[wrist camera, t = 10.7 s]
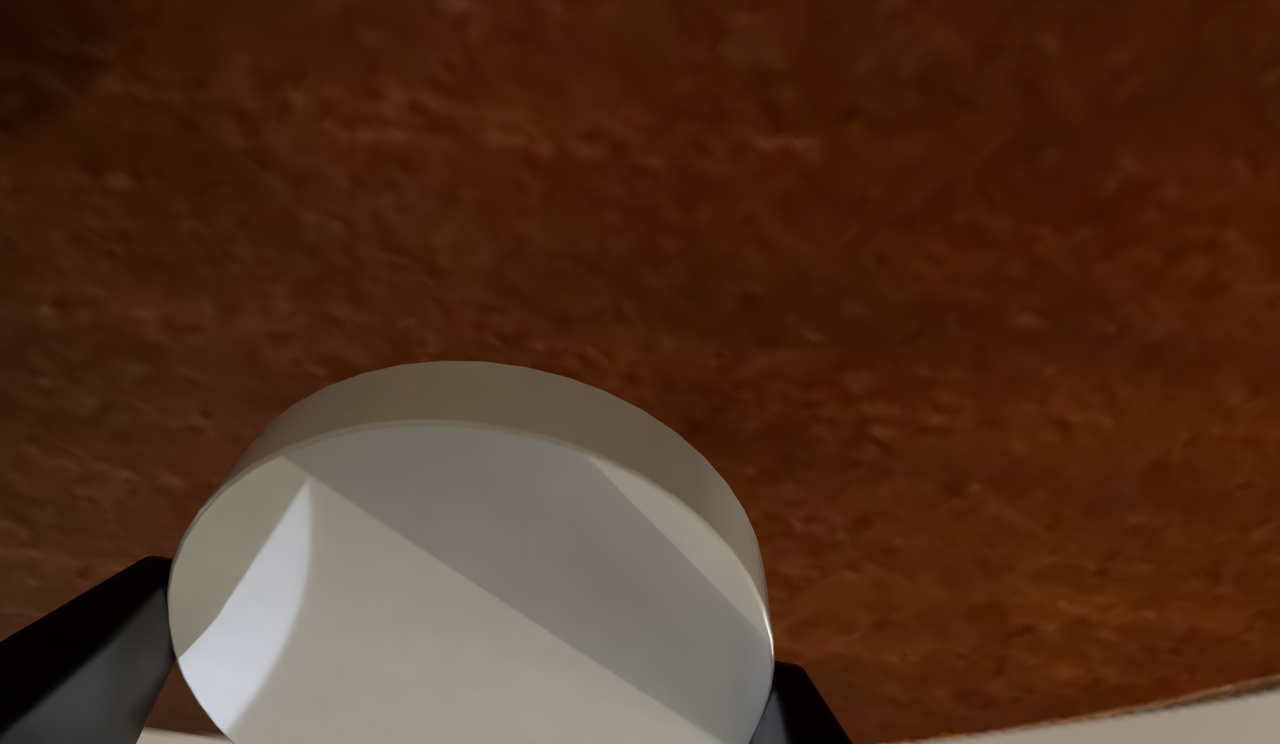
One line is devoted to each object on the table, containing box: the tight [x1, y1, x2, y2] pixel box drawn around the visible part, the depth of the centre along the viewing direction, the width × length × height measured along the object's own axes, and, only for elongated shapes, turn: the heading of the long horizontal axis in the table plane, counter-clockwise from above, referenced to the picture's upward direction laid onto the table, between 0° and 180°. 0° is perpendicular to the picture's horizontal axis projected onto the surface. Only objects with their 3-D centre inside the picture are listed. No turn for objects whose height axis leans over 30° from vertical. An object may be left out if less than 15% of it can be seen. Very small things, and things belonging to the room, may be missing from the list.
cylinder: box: [166, 361, 775, 744], centre depth 10 cm, size 7×7×2 cm
